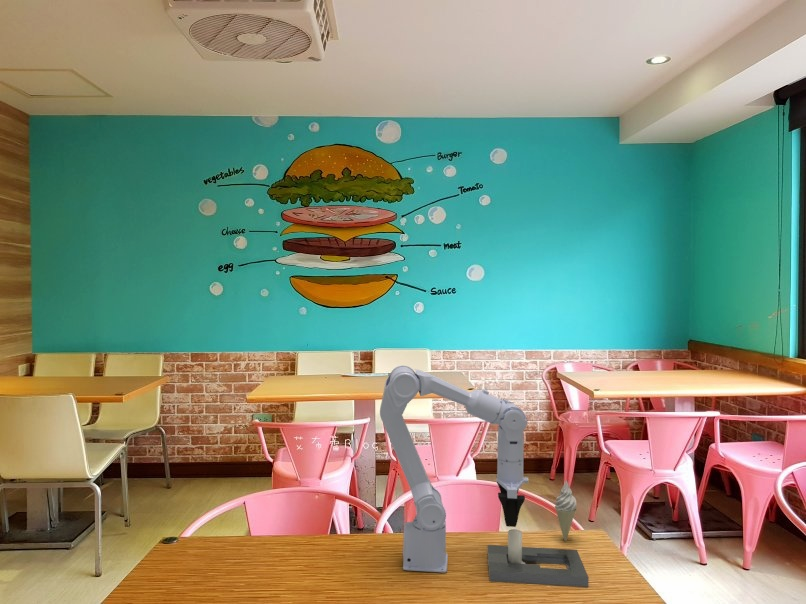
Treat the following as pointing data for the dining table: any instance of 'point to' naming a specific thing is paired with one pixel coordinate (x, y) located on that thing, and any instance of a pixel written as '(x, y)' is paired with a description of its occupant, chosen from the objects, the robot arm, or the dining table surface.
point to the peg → (515, 546)
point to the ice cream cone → (565, 509)
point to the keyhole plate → (537, 566)
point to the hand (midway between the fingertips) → (509, 518)
